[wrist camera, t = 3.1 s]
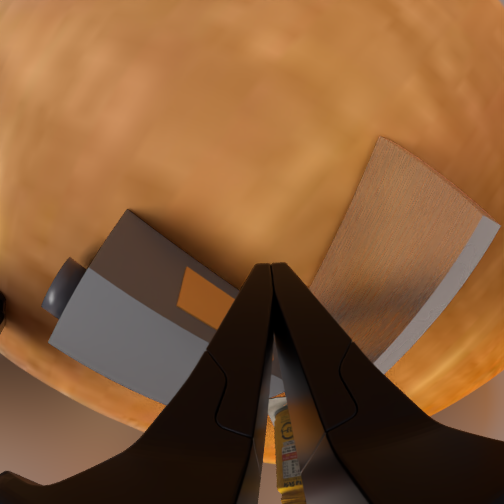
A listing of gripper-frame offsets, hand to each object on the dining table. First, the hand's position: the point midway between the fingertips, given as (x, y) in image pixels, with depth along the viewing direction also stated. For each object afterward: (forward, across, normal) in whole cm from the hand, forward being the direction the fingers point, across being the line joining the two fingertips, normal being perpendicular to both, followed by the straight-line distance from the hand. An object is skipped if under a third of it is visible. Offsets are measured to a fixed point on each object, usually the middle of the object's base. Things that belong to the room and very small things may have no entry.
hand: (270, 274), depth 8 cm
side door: (+5, -4, +3) cm, 8 cm away
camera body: (+6, +6, +8) cm, 11 cm away
